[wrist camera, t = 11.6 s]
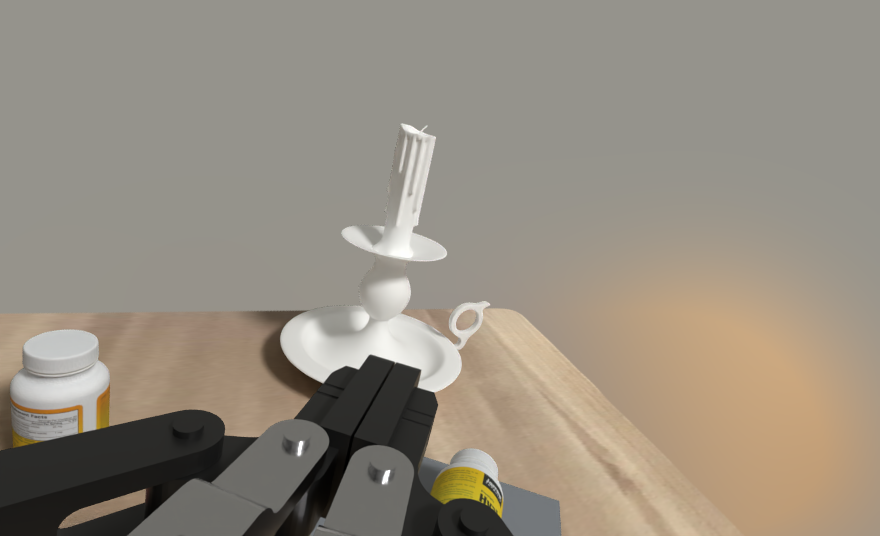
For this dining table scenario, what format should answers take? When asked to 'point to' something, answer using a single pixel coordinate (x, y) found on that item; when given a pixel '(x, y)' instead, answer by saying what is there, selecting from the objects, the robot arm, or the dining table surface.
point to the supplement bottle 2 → (470, 480)
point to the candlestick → (385, 291)
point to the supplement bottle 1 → (59, 388)
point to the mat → (506, 505)
